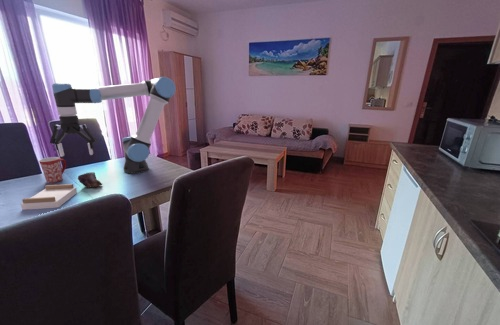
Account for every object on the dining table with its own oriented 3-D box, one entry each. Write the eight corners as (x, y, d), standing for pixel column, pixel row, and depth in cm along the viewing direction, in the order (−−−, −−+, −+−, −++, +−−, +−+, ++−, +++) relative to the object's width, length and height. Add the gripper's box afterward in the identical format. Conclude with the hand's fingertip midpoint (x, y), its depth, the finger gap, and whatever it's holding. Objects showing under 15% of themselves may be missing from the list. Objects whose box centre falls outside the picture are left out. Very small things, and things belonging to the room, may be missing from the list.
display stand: (77, 192, 117) (75, 183, 115) (58, 207, 102) (55, 197, 100) (46, 194, 114) (43, 185, 113) (22, 209, 99) (19, 199, 98)
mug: (52, 184, 126) (46, 162, 122) (40, 182, 128) (34, 160, 124) (74, 177, 137) (69, 156, 133) (63, 175, 140) (58, 154, 136)
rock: (99, 183, 132) (78, 187, 125) (96, 169, 131) (75, 172, 124) (103, 186, 124) (81, 191, 117) (101, 171, 122) (78, 175, 116)
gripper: (98, 114, 121) (105, 152, 127) (43, 114, 114) (53, 154, 121) (93, 115, 114) (101, 155, 120) (34, 116, 107) (45, 158, 114)
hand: (77, 155), depth 121 cm, fingers open, 13 cm apart
